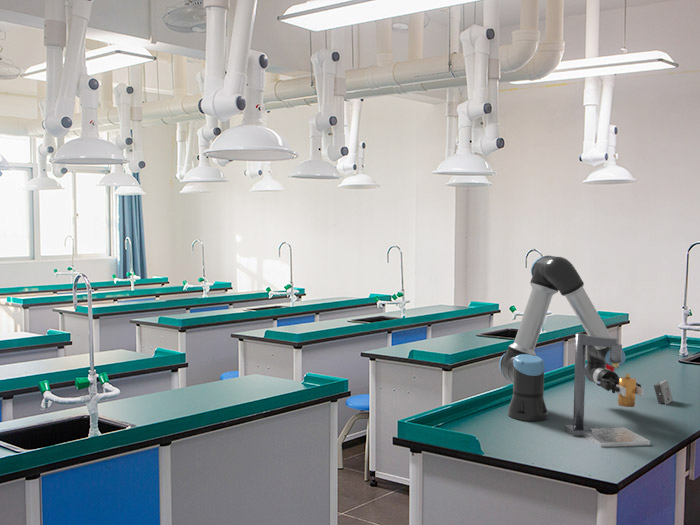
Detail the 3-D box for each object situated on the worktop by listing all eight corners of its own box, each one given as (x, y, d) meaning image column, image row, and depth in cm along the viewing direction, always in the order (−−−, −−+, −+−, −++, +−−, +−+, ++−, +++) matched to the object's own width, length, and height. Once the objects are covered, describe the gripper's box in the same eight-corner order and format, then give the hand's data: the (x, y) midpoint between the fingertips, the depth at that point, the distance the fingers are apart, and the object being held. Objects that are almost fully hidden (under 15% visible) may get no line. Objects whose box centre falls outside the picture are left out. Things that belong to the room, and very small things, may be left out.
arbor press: (591, 447, 233) (594, 341, 231) (564, 430, 252) (567, 332, 251) (649, 445, 236) (653, 340, 235) (619, 428, 256) (622, 332, 254)
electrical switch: (667, 405, 292) (665, 383, 292) (654, 404, 295) (652, 382, 295) (673, 401, 299) (671, 379, 299) (660, 400, 302) (659, 379, 302)
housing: (623, 407, 257) (624, 375, 257) (614, 403, 263) (616, 371, 262) (638, 407, 258) (639, 375, 257) (629, 402, 264) (630, 371, 263)
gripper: (628, 388, 279) (657, 402, 256) (582, 387, 278) (608, 401, 255) (629, 370, 279) (658, 382, 256) (583, 369, 277) (609, 381, 254)
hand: (633, 392), depth 255 cm, fingers closed on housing, 6 cm apart
